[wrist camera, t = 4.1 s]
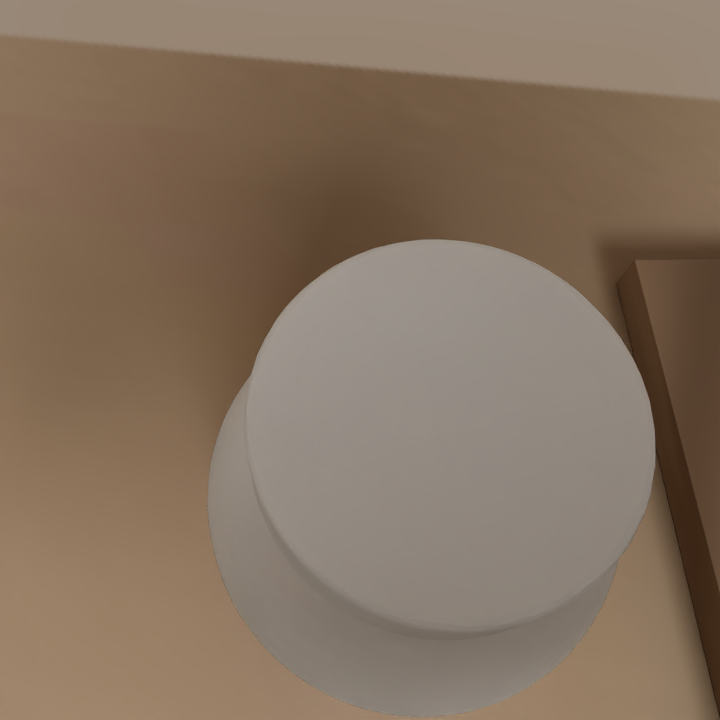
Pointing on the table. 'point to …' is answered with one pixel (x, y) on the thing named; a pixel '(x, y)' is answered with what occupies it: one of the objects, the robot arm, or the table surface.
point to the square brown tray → (684, 413)
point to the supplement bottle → (430, 477)
